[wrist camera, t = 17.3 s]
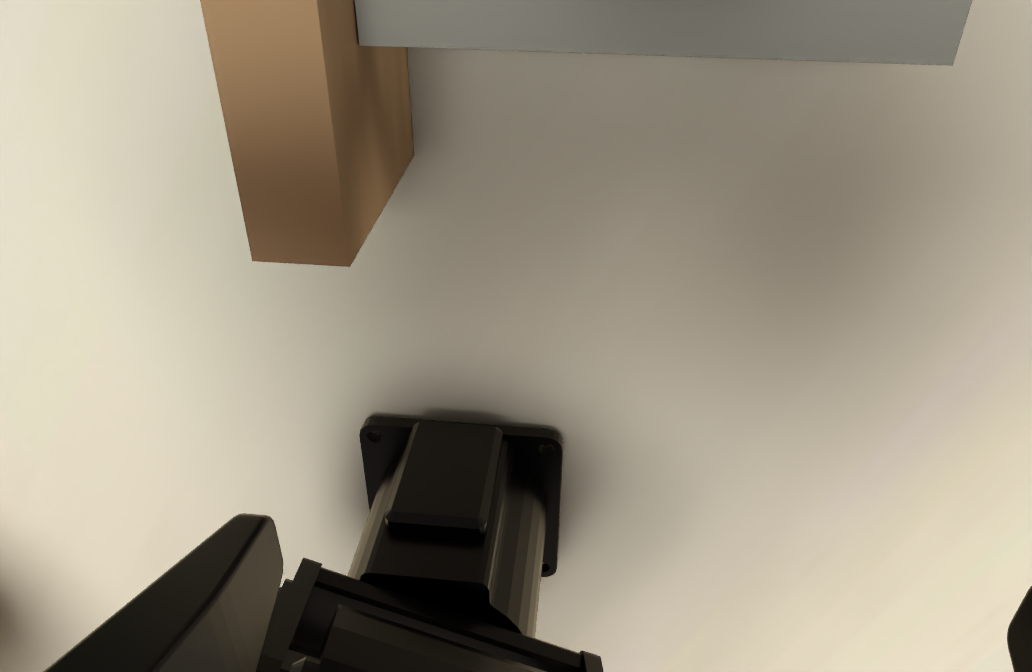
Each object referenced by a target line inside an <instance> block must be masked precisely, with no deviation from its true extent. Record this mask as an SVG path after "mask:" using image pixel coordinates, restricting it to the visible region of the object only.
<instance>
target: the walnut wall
mask: <svg viewBox="0 0 1032 672" xmlns="http://www.w3.org/2000/svg"><path fill="white" fill-rule="evenodd" d="M200 1H201V6H202V11H203V16H204V21H205V26H206V31H207V36H208V41H209V46H210V51H211V56H212V61H213V66H214V71H215V76H216V81H217V86H218V91H219V96H220V101H221V106H222V111H223V116H224V121H225V126H226V131H227V136H228V141H229V146H230V151H231V156H232V161H233V166H234V171H235V176H236V181H237V186H238V191H239V196H240V201H241V206H242V211H243V216H244V221H245V226H246V231H247V236H248V241H249V246H250V251H251V256H252V261H260V262H278V263H295V264H312V265H330V266H347V267H350V266H351V264H352V262H353V260H354V259H355V257H356V255H357V253H358V252H359V250H360V248H361V246H362V245H363V243H364V241H365V240H366V238H367V236H368V234H369V233H370V231H371V229H372V227H373V226H374V224H375V222H376V220H377V219H378V217H379V215H380V213H381V212H382V210H383V208H384V207H385V205H386V203H387V201H388V200H389V198H390V196H391V194H392V193H393V191H394V189H395V187H396V186H397V184H398V182H399V181H400V179H401V177H402V175H403V174H404V172H405V170H406V168H407V167H408V165H409V163H410V161H411V160H412V158H413V156H414V150H413V135H412V121H411V106H410V91H409V77H408V62H407V47H392V46H363V45H359V37H358V26H357V16H356V6H355V0H200Z"/></svg>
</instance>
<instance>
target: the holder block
mask: <svg viewBox="0 0 1032 672" xmlns="http://www.w3.org/2000/svg"><path fill="white" fill-rule="evenodd" d="M971 3H972V0H355V6H356V16H357V26H358V37H359V45H363V46H392V47H421V48H451V49H480V50H510V51H539V52H568V53H598V54H627V55H657V56H686V57H715V58H745V59H774V60H803V61H833V62H862V63H892V64H921V65H950V66H953V63H954V59H955V56H956V53H957V49H958V46H959V43H960V39H961V36H962V33H963V29H964V26H965V23H966V19H967V16H968V13H969V10H970V6H971Z"/></svg>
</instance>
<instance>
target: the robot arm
mask: <svg viewBox="0 0 1032 672" xmlns="http://www.w3.org/2000/svg"><path fill="white" fill-rule="evenodd" d="M372 431H378V432H379V433H381V434H380V435H378V434H375V433H373V432H372ZM360 442H361V449H362V457H363V464H364V472H365V479H366V487H367V494H368V501H369V509H370V513H369V516H368V519H367V522H366V525H365V528H364V530H363V533H362V536H361V539H360V542H359V545H358V548H357V550H356V553H355V556H354V559H353V562H352V565H351V568H350V570H349V573H348V576H346V575H343V574H340V573H337V572H334V571H331V570H328V569H325V568H322V567H321V565H322V564H321V563H318V562H315V561H312V560H309V559H306V558H303V559H302V562H301V564H300V566H299V568H298V571H297V573H296V575H295V577H294V580H293V581H292V580H289V579H285V581H284V584H283V586H282V587H280V588H279V586H280V583H281V579H282V573H283V558H282V553H281V549H280V544H279V540H278V536H277V531H276V527H275V524H274V521H273V519H272V518H271V517H270V516H267V515H256V514H239V515H237V516H235V517H233V518H232V519H231V520H229V521H228V522H227V523H226V524H224V525H223V526H222V527H221V528H220V529H218V530H217V531H216V532H215V533H213V534H212V535H211V536H210V537H209V538H207V539H206V540H205V541H204V542H202V543H201V544H200V545H199V546H197V547H196V548H195V549H194V550H193V551H191V552H190V553H189V554H188V555H186V556H185V557H184V558H183V559H181V560H180V561H179V562H178V563H177V564H175V565H174V566H173V567H172V568H170V569H169V570H168V571H167V572H165V573H164V574H163V575H162V576H161V577H159V578H158V579H157V580H156V581H154V582H153V583H152V584H151V585H149V586H148V587H147V588H146V589H145V590H143V591H142V592H141V593H140V594H138V595H137V596H136V597H135V598H133V599H132V600H131V601H130V602H129V603H127V604H126V605H125V606H124V607H122V608H121V609H120V610H119V611H118V612H116V613H115V614H114V615H113V616H111V617H110V618H109V619H108V620H106V621H105V622H104V623H103V624H102V625H100V626H99V627H98V628H97V629H95V630H94V631H93V632H92V633H90V634H89V635H88V636H87V637H86V638H84V639H83V640H82V641H81V642H79V643H78V644H77V645H76V646H74V647H73V648H72V649H71V650H70V651H68V652H67V653H66V654H65V655H63V656H62V657H61V658H60V659H58V660H57V661H56V662H55V663H54V664H52V665H51V666H50V667H49V668H47V669H46V670H45V671H44V672H603V667H602V662H601V657H600V656H597V655H594V654H591V653H588V652H585V651H580V653H577V652H574V651H571V650H568V649H565V648H562V647H559V646H556V645H553V644H550V643H547V642H544V641H541V640H538V639H535V630H536V620H537V610H538V600H539V590H540V581H541V577H548V576H551V575H553V574H554V573H555V572H556V569H557V559H558V539H559V519H560V499H561V479H562V459H563V439H562V437H561V435H560V434H559V433H557V432H556V431H554V430H549V429H538V428H524V427H511V426H497V425H484V424H470V423H457V422H443V421H430V420H416V419H403V418H389V417H370V418H368V419H366V420H365V422H364V423H363V425H362V428H361V430H360ZM542 444H551V445H552V447H544V446H542ZM542 562H543V563H542ZM1007 642H1008V649H1009V653H1010V657H1011V661H1012V665H1013V669H1014V672H1032V586H1031V587H1030V588H1029V590H1028V592H1027V594H1026V595H1025V597H1024V599H1023V601H1022V603H1021V604H1020V606H1019V608H1018V610H1017V612H1016V614H1015V615H1014V617H1013V619H1012V621H1011V623H1010V625H1009V628H1008V632H1007Z"/></svg>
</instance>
